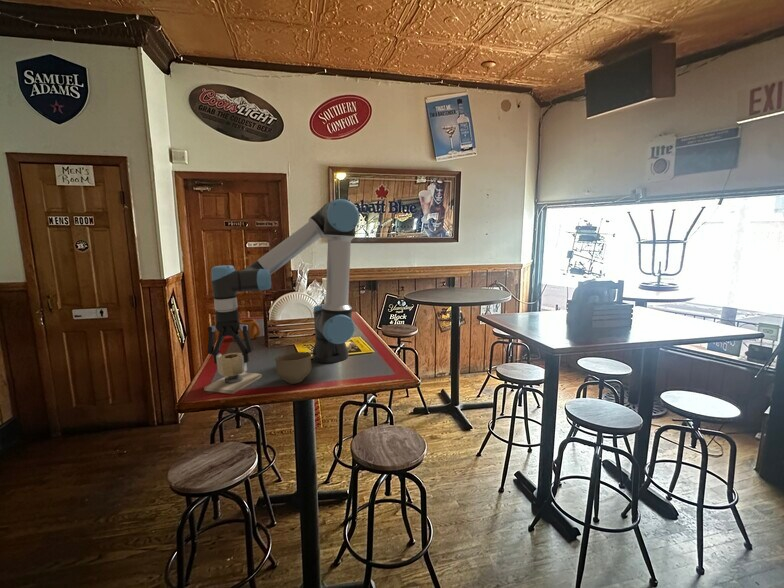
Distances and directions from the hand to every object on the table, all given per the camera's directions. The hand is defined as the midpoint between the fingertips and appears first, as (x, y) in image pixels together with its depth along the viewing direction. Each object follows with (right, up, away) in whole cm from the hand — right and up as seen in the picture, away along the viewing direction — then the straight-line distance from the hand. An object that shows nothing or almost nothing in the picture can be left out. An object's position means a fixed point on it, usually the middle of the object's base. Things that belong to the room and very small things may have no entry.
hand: (232, 371), depth 147 cm
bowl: (+22, -4, +1) cm, 23 cm away
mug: (-15, +5, +63) cm, 65 cm away
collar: (0, 0, 0) cm, 0 cm away
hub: (0, -4, +1) cm, 5 cm away
